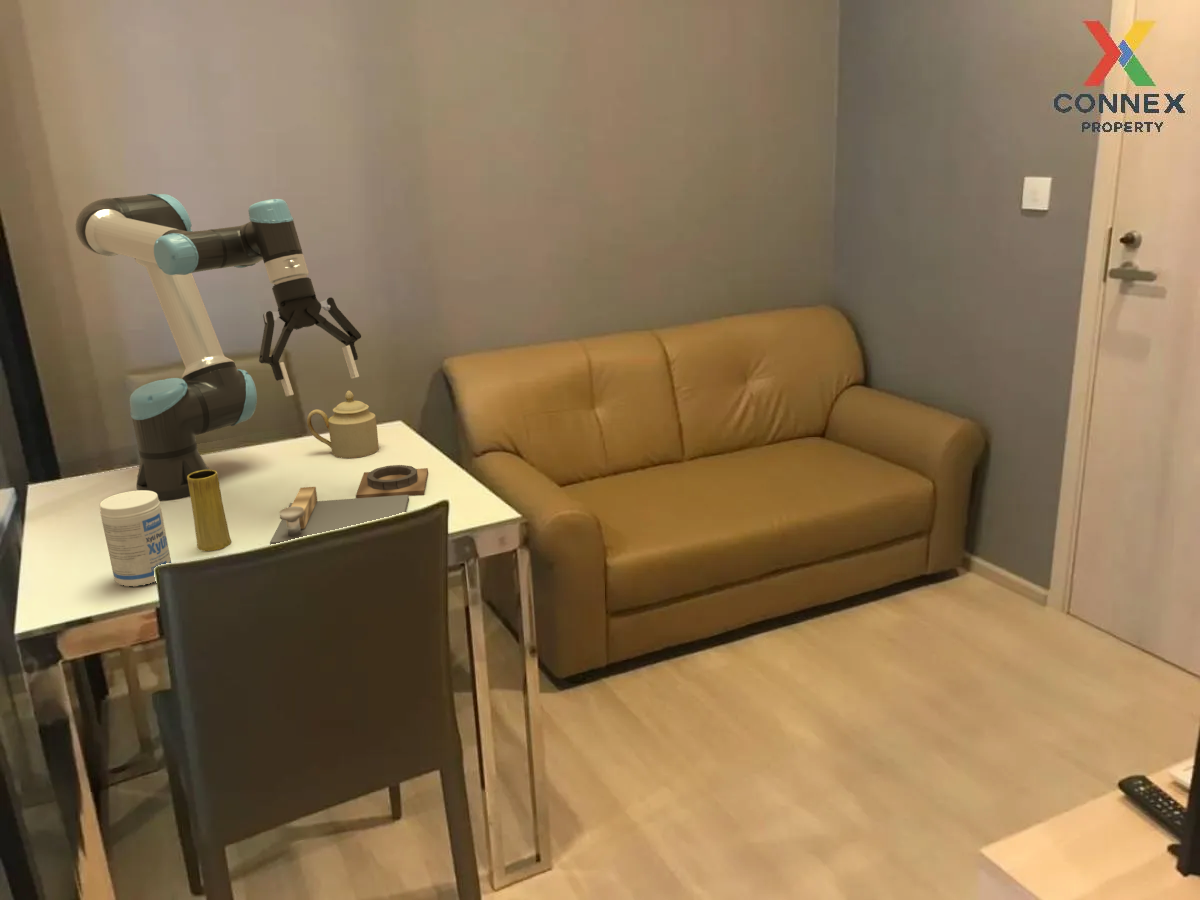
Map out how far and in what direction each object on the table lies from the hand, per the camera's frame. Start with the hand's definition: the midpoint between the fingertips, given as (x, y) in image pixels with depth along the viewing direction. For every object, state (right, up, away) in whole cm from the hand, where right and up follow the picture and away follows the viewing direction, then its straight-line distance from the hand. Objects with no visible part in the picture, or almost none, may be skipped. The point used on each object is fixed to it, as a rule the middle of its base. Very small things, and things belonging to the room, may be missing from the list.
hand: (323, 386), depth 197 cm
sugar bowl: (-6, -13, +42) cm, 44 cm away
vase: (-18, -31, -8) cm, 36 cm away
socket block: (+10, -20, +19) cm, 29 cm away
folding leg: (-4, -26, 0) cm, 26 cm away
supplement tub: (-26, -35, -20) cm, 48 cm away
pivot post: (-3, -29, -7) cm, 30 cm away
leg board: (+4, -27, +1) cm, 27 cm away
